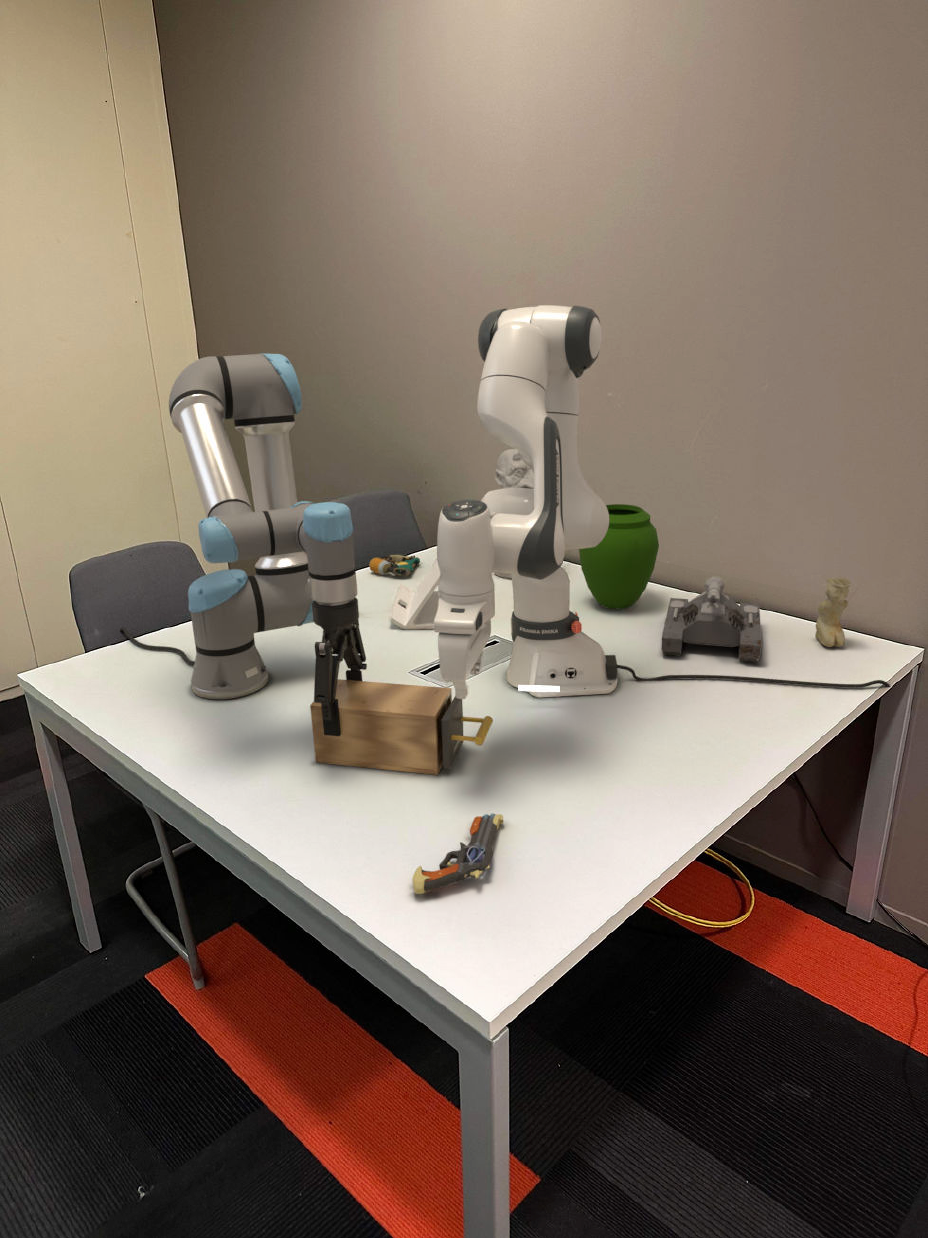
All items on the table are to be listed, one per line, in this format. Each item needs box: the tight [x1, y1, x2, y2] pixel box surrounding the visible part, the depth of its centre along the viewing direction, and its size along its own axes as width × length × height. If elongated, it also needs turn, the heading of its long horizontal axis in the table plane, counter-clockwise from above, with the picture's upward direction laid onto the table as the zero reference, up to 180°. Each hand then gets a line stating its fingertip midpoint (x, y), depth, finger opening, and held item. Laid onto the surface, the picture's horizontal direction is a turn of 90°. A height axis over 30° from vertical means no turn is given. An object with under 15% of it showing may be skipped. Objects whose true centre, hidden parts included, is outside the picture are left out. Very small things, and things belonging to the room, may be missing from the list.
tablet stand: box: [388, 558, 440, 630], centre depth 211 cm, size 18×25×17 cm
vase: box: [578, 503, 660, 610], centre depth 210 cm, size 20×20×24 cm
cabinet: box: [309, 678, 453, 776], centre depth 146 cm, size 22×11×11 cm, turn 77°
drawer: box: [437, 695, 494, 770], centre depth 145 cm, size 26×10×9 cm, turn 77°
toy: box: [660, 575, 762, 662], centre depth 188 cm, size 25×20×15 cm
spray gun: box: [369, 553, 421, 577], centre depth 246 cm, size 4×17×15 cm
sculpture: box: [814, 576, 852, 648], centre depth 185 cm, size 6×7×15 cm
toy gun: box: [412, 812, 504, 895], centre depth 119 cm, size 3×19×10 cm
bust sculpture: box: [493, 448, 534, 579], centre depth 231 cm, size 16×24×35 cm
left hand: (344, 719), depth 147 cm, fingers closed on cabinet, 11 cm apart
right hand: (468, 684), depth 139 cm, fingers open, 8 cm apart
